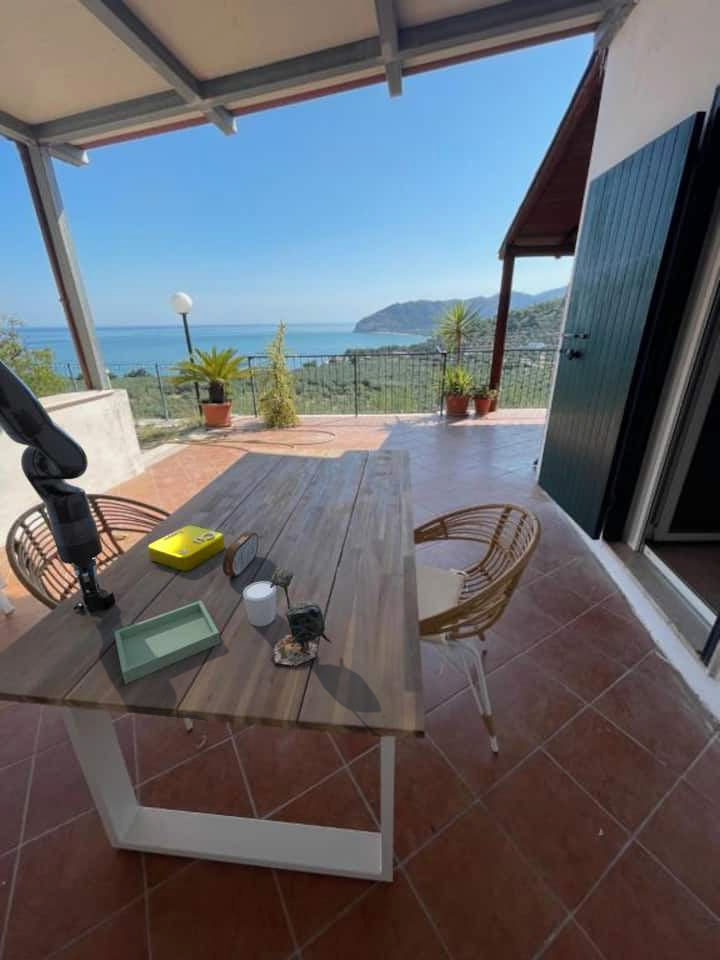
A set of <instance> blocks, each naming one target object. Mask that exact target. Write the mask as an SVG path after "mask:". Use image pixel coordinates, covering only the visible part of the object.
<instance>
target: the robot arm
mask: <svg viewBox="0 0 720 960" xmlns="http://www.w3.org/2000/svg"><path fill="white" fill-rule="evenodd" d="M0 428H1V429H2V430H3V432H4V433H5V434H6V435H7V436H8V438H10V440H12V441H13V442H14V443H17V444H19V445H23V446H26V448H25V449H24V450H23V451H22V454H21V457H20V465H21V469H22V472H23V474H24V477H25V478H26V480H27V481H28V482H29V484H30V485H31V487H32V488H33V489H34V491H35V493H36V494H37V495H38V497H39V498H40V499H41V500H42V503H44V506H45V509H46V512H47V516H48V519H49V523H50V529H51V535H52V538H53V541H54V544H55V547H56V550H57V553H58V557H59V560H60V561H61V563H63V564H68V565H73V567H74V568H73V571H74V575H75V576H76V579H77V583H78V586H79V587H78V588H80V589H81V592H82V593H83V595H84V597H83V596H82V599H83V598H84V599H85V601H86V600H87V602H88V606H87V607H88V609H89V612H90V613H95V612H98V611H101V610H102V604H101V601H100V597H99V591H98V589H100V585H99V584H100V579H99V576H98V572H97V571H98V566H97V563H98V562H97V560H96V559H97V557H98V556H99V555H101V553H102V551H103V544H102V541H101V538H100V534H99V530H98V527H97V523H96V520H95V517H94V516H93V513H92V509H91V506H90V501H89V499H88V495H87V491H86V490H85V489H84V488H81V487H79V486H75V485H72V484H70V483H68V481H66V480H76V479H78V478H80V477H82V476H83V475H84V474H85V473H86V471H87V468H88V463H89V461H88V456H87V454H86V452H85V450H84V448H83V447H82V446H81V445H80V444H79V443H78V441H76V440H75V438H74V437H72V436H71V435H70V434H69V433H68V432H66V430H64V429H63V427H61V426H59V424H57V423H56V422H55V421H53V419H52V417H51V416H50V414H49V413H48V411H47V410H46V409H45V407H44V406H43V403H41V402H40V400H39V398H38V397H37V396H36V394H35V393H34V392H33V390H32V389H31V388H30V387H29V385H27V383H25V381H24V380H23V379H22V378H21V377H20V376H19V375H18V374H17V373H16V372H15V371H14V370H13V369H12V368H11V367H10V366H9V365H7V363H6V362H5V361H3V360H2V359H1V358H0ZM91 588H93V589H94V591H91V592H87V590H88V589H91Z"/></svg>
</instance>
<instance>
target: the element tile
mask: <svg viewBox="0 0 720 960" xmlns="http://www.w3.org/2000/svg"><path fill="white" fill-rule="evenodd" d="M225 545H226V544H225V538H224V534H223V533H222V532H218V531H214V530H211V529H207V528H203V527H200V526H197V525H189V524H188V525H186V526H183V527H182V528H180V529H177V530H175V531H173V532H170V533H169V534H168V535H165V536H163V537H161V538H158V539H156V540H155V541H153V542H151V543H150V544H148V545H147V550H148V554H149V559H150V561H152V562H154V561H155V562H154V563H157V562H158V563H157V564H160V565H163V566H166V567H168V566H169V567H168V568H172V569H175V570H178V571H180V572H188V571H190V570H193V569H195V568H196V567H198V566H199V565H201V564H202V563H204V562H205V561H207V560H209V559H210V558H213V557H214V556H216V555H217V554H219V553H220V552H222V551H223V550H224V549H225V548H226V547H225Z"/></svg>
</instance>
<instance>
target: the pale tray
mask: <svg viewBox="0 0 720 960" xmlns="http://www.w3.org/2000/svg"><path fill="white" fill-rule="evenodd" d="M114 637H115V638H114V639H115V643H116V648H117V654H118V658H119V664H120V669H121V673H122V678H123V681H124V684H125V685H127V684H129V683H131V682H133V681H136V680H138V679H141V678H143V677H145V676H147V675H150V674H152V673H154V672H156V671H159V670H161V669H164V668H166V667H168V666H171V665H173V664H176V663H178V662H181V661H182V660H184V659H187V658H190V657H192V656H194V655H196V654H198V653H201V652H204V651H205V650H207V649H210V648H212V647H215V646H217V645H219V644H221V634H220V631H219V629H218V628H217V626H216V624H215V623H214V621H213V619H212V617H211V615H210V613H209V611H208V610H207V608H206V606H205V603H204V602H203V601H202V600H197V601H195V602H192V603H189V604H187V605H183V606H181V607H179V608H176V609H173V610H170V611H168V612H165V613H162V614H159V615H156V616H153V617H151V618H148V619H145V620H143V621H140V622H137V623H134V624H131V625H128V626H126V627H122V628H119V629H118V630H115V631H114Z"/></svg>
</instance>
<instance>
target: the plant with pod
mask: <svg viewBox="0 0 720 960" xmlns="http://www.w3.org/2000/svg"><path fill="white" fill-rule="evenodd" d="M293 575H294V572H293V571H291V570H289V569H288V568H285V567H281V566H277V568H276V569H275V572H274V573H273V575H272V577H271V583H272V584H271V586H270V588H272V587H273V586H274V585H275V586H280V587H281V588H283V590H284V594H285V597H286V603H287V611H286V613H285V616H286V619H287V623H288V626H289V629H290V631H291V634H287V635H285V637H284V638H280V639H278V641H276V642H275V643H274V647H273V651H272V655H271V658H270V661H271V662H272V663H274V664H280V665H288V666H289V665H290V666H292V665H293V667H296V666H298V665H300V664H303V663H306V662H309V661H310V660H313V659H316V658H317V657H318V643H319V641H318V640H317V638H319V637H322V638H323V639H324V640H325V641H327V642H328V643H329V644H332V640H331V638H329V637H327V635H326V634H325V630H326V625H325V617H324V614H323V611H322V609H321V607H320V605H319V604H318V603H317V602H315V601H313V600H304V601H300V602H296V603H294V605H291V604H290V603H291V602H290V597H289V595H288V594H289V586H290V585H291V582H292V578H293ZM290 606H291V607H290Z"/></svg>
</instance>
